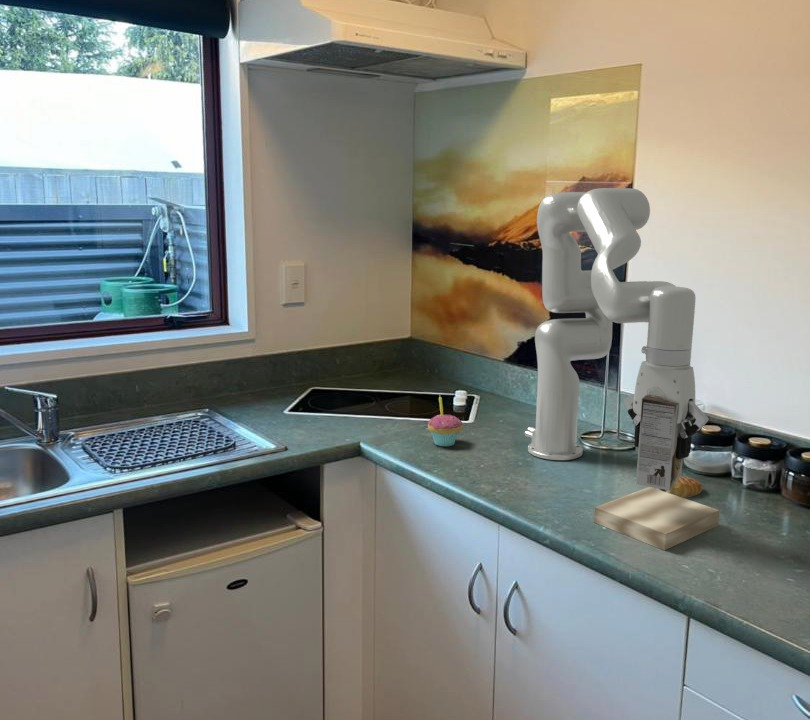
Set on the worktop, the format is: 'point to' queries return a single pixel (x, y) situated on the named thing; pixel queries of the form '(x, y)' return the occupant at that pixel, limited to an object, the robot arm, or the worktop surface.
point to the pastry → (685, 487)
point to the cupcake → (444, 428)
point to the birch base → (656, 517)
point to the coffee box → (658, 444)
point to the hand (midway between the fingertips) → (661, 451)
